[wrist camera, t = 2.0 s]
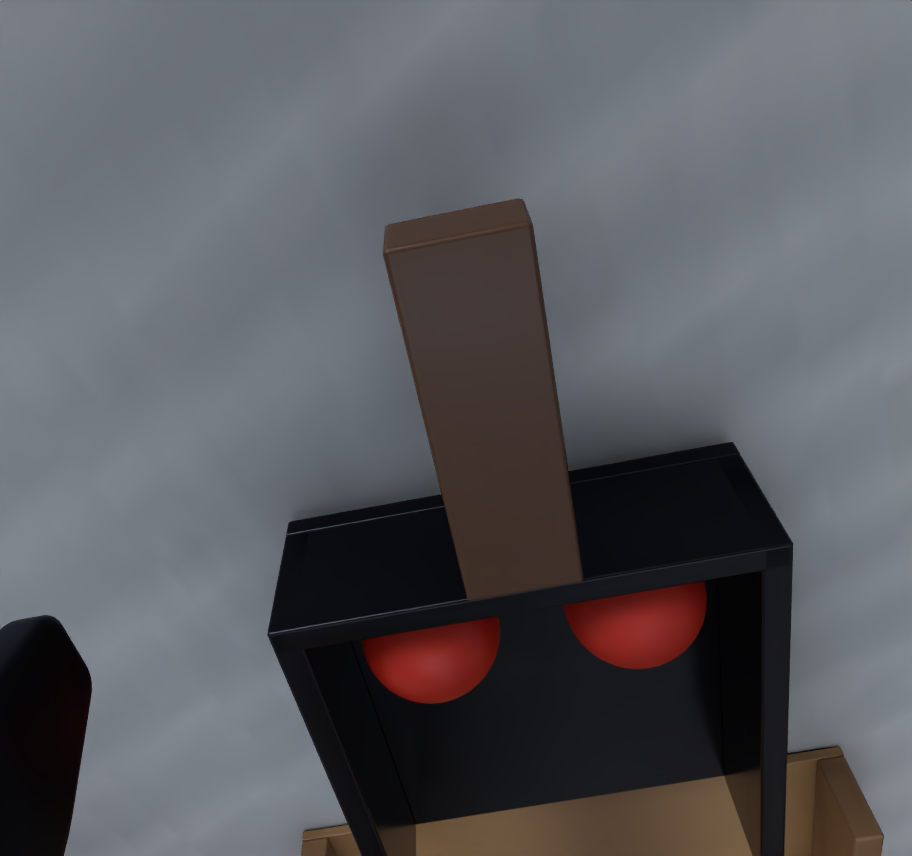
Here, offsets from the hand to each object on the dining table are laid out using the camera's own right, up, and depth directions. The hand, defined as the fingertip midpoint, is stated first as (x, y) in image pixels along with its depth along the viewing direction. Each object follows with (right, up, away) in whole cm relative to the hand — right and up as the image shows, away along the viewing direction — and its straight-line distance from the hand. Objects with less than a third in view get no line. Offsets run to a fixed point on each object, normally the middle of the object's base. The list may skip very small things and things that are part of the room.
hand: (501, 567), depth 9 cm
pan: (+1, -2, +12) cm, 12 cm away
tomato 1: (-1, -3, +10) cm, 11 cm away
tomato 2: (+3, -2, +10) cm, 11 cm away
